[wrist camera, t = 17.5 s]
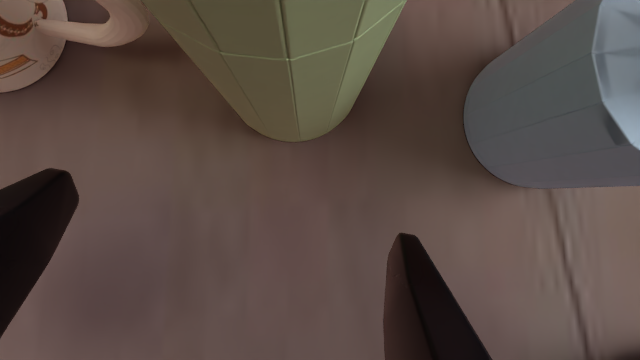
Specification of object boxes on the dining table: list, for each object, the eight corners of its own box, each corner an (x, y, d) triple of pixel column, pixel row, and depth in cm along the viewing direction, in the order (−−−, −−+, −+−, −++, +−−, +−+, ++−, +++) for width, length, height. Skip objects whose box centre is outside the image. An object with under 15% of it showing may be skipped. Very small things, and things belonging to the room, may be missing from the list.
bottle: (624, 138, 18) (1147, 44, 7) (513, 214, 17) (870, 247, 6) (547, 25, 18) (937, -252, 7) (436, 98, 17) (654, -67, 6)
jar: (353, 148, 17) (494, 4, 4) (219, 135, 17) (-62, -57, 4) (365, 17, 17) (532, -496, 4) (233, 3, 17) (11, -573, 4)
